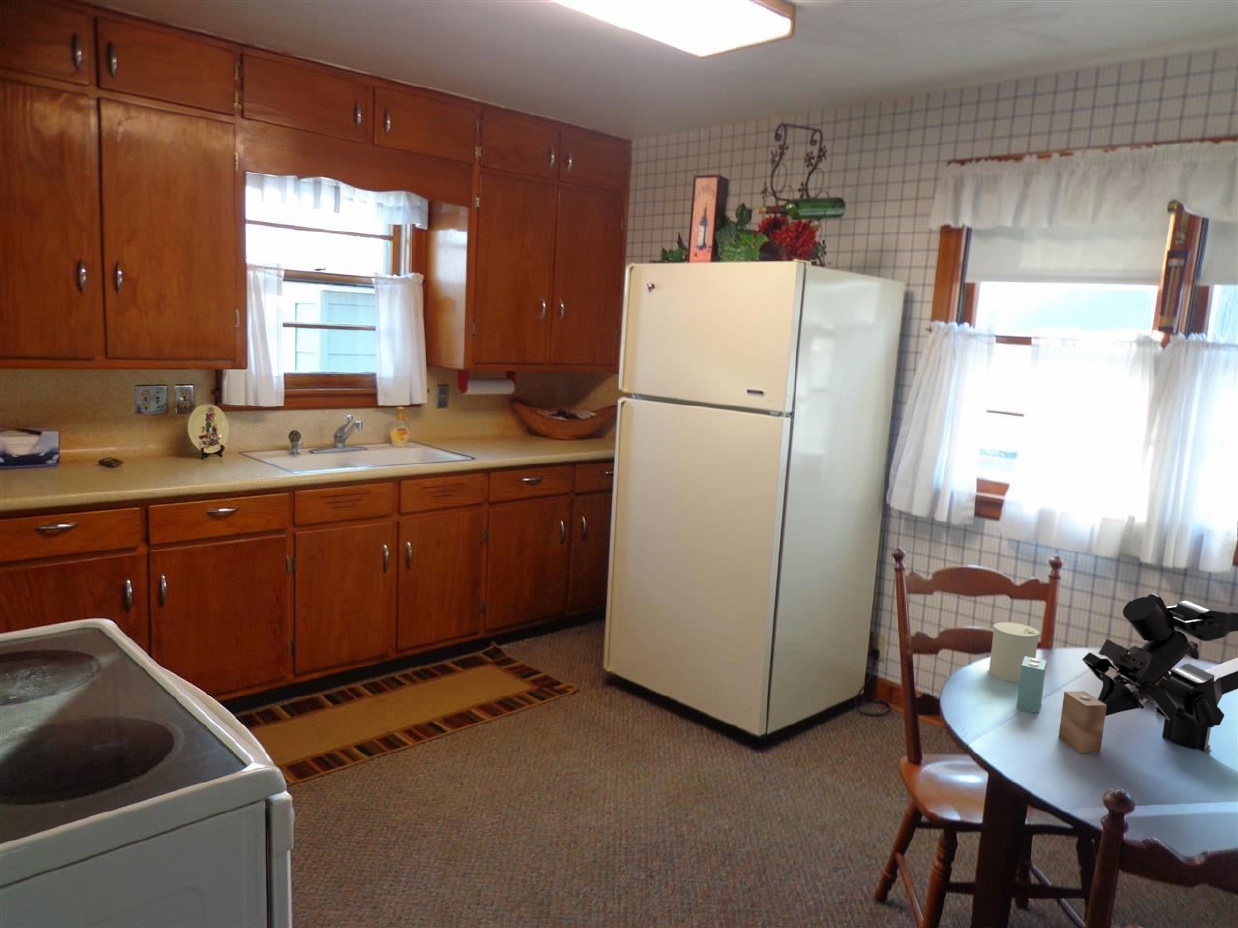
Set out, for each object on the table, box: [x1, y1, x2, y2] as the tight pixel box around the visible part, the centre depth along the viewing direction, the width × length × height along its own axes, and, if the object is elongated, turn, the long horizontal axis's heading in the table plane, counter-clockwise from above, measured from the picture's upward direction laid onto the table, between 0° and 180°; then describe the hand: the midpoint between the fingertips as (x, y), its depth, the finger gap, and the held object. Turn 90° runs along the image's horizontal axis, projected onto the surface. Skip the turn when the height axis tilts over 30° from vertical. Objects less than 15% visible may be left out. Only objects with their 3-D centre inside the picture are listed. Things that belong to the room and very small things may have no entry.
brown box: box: [1058, 690, 1107, 754], centre depth 159 cm, size 4×6×9 cm, turn 8°
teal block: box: [1016, 656, 1048, 714], centre depth 176 cm, size 4×6×9 cm, turn 150°
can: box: [988, 621, 1040, 683], centre depth 192 cm, size 9×9×12 cm
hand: (1094, 715), depth 160 cm, fingers closed, pressing on brown box
